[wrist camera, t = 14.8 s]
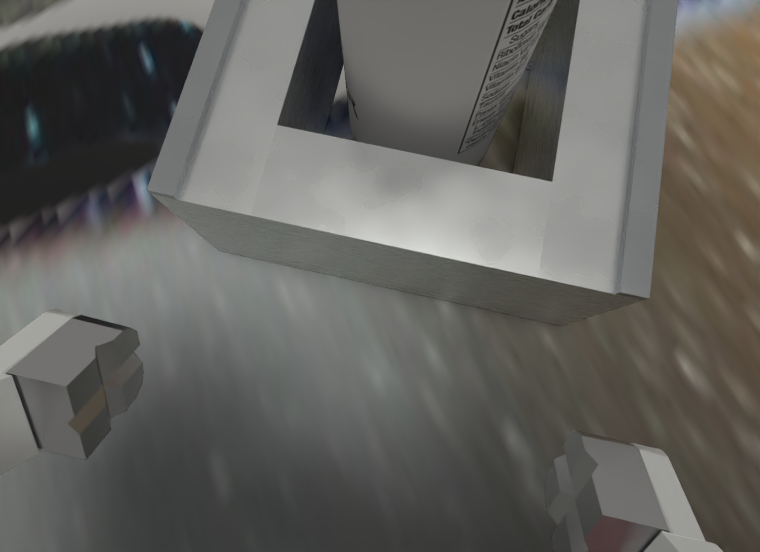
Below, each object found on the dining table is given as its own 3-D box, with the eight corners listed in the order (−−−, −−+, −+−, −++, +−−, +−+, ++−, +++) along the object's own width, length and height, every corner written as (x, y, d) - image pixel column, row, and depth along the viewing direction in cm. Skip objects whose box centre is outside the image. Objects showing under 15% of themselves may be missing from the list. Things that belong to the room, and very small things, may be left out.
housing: (602, 28, 22) (688, -108, 16) (561, 326, 19) (649, 298, 13) (305, -29, 23) (279, -181, 17) (218, 250, 20) (146, 190, 14)
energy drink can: (384, 57, 22) (398, -602, 7) (505, 105, 21) (785, -502, 7) (329, 166, 21) (211, -364, 6) (456, 220, 20) (668, -219, 5)
